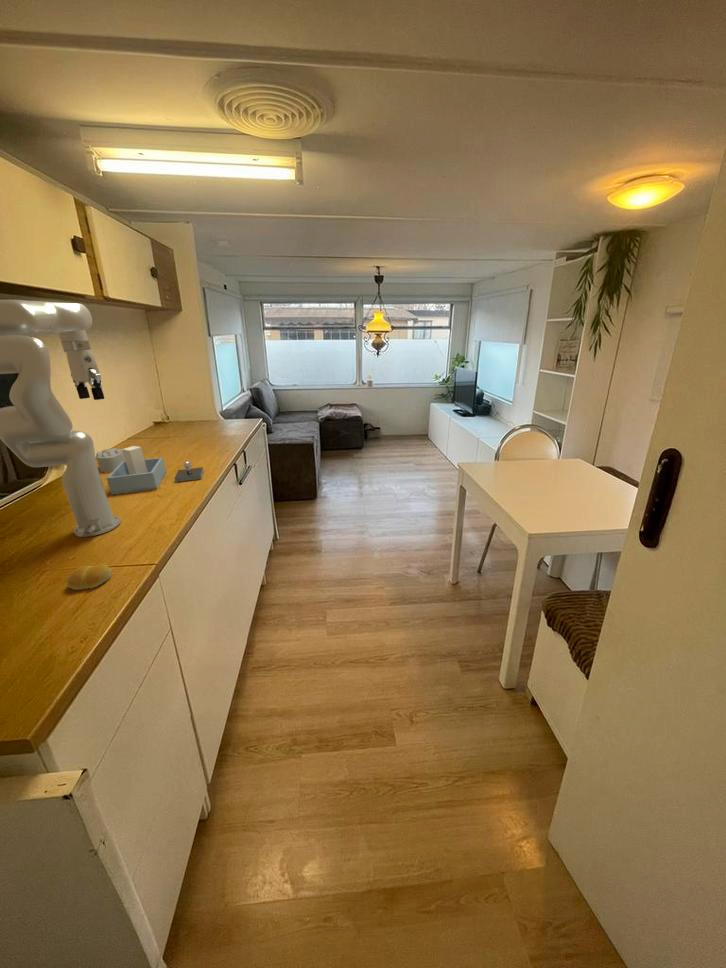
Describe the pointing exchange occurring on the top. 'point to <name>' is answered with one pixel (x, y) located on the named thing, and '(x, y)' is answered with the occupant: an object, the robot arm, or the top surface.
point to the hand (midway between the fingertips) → (92, 398)
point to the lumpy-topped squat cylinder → (109, 459)
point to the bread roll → (88, 576)
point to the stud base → (189, 473)
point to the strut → (135, 460)
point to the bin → (137, 477)
